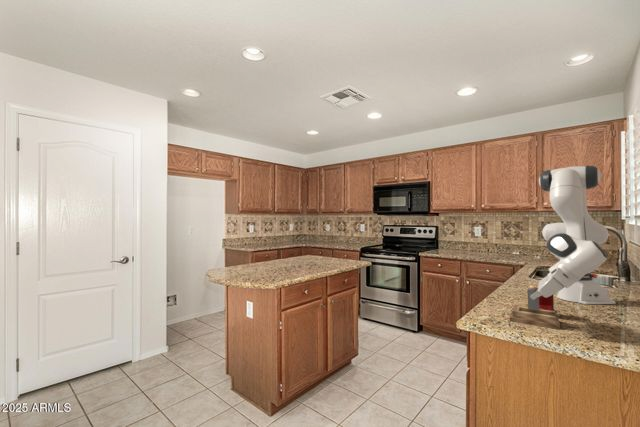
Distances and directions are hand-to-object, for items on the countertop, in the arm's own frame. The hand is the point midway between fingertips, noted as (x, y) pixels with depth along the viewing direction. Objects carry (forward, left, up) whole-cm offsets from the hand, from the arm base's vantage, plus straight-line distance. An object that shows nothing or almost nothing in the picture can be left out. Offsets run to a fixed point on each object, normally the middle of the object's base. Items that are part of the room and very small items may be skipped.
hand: (531, 296), depth 123 cm
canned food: (-9, -10, -10) cm, 16 cm away
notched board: (-1, 0, -10) cm, 10 cm away
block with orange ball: (0, 0, -5) cm, 5 cm away
